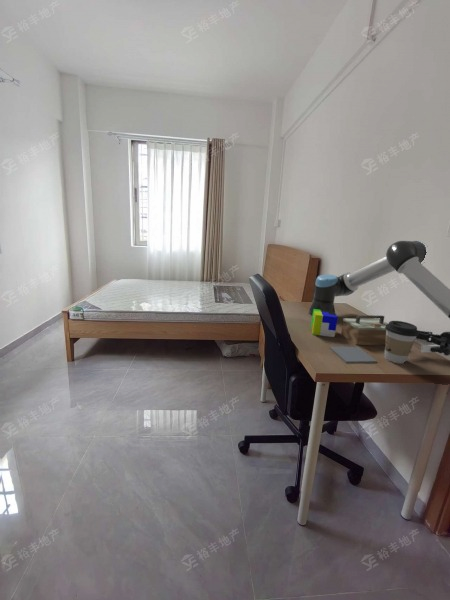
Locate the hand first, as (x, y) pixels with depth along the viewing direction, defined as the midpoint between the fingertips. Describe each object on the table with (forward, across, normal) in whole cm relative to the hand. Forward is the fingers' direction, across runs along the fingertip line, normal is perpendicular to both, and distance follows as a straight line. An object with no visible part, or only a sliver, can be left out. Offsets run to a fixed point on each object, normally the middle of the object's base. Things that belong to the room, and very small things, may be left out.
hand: (407, 341), depth 108 cm
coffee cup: (+3, +1, -8) cm, 9 cm away
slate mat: (+19, +5, -8) cm, 21 cm away
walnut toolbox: (+2, +21, -8) cm, 23 cm away
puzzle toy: (+20, +30, -9) cm, 37 cm away
